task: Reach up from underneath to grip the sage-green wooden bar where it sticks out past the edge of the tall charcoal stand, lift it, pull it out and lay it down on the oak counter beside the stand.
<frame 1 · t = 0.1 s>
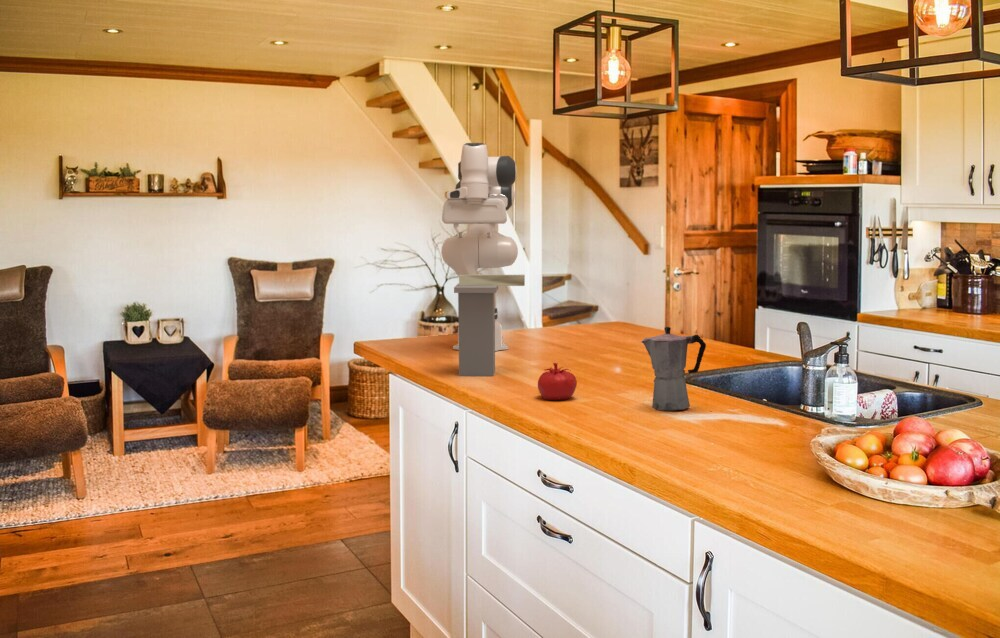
hand: (474, 238, 294), 39 cm above the countertop, tool pointing down, fingers open, 8 cm apart
pomegranate: (557, 398, 242), on the countertop
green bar: (492, 285, 274), point 26 cm above the countertop, touching tall stand
tall stand: (477, 372, 278), on the countertop
moka pot: (672, 408, 230), on the countertop
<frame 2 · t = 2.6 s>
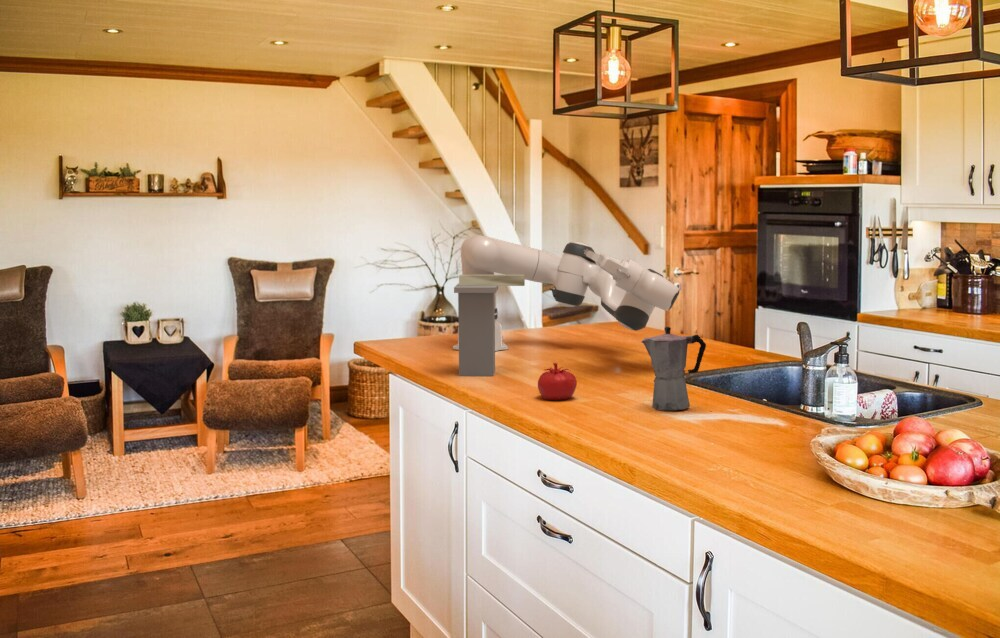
hand: (586, 252, 273), 36 cm above the countertop, tool pointing upward, fingers open, 8 cm apart
nothing on the countertop moved.
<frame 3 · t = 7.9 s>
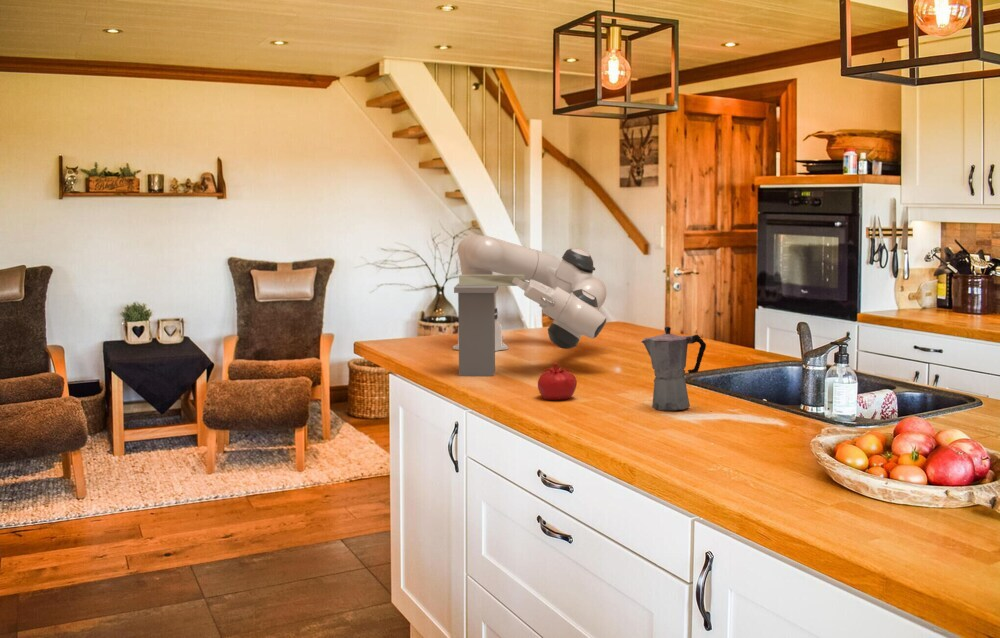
hand: (513, 278, 274), 28 cm above the countertop, tool pointing upward, fingers closed on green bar, 3 cm apart
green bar: (492, 285, 274), point 26 cm above the countertop, touching gripper, tall stand
everything else where it was.
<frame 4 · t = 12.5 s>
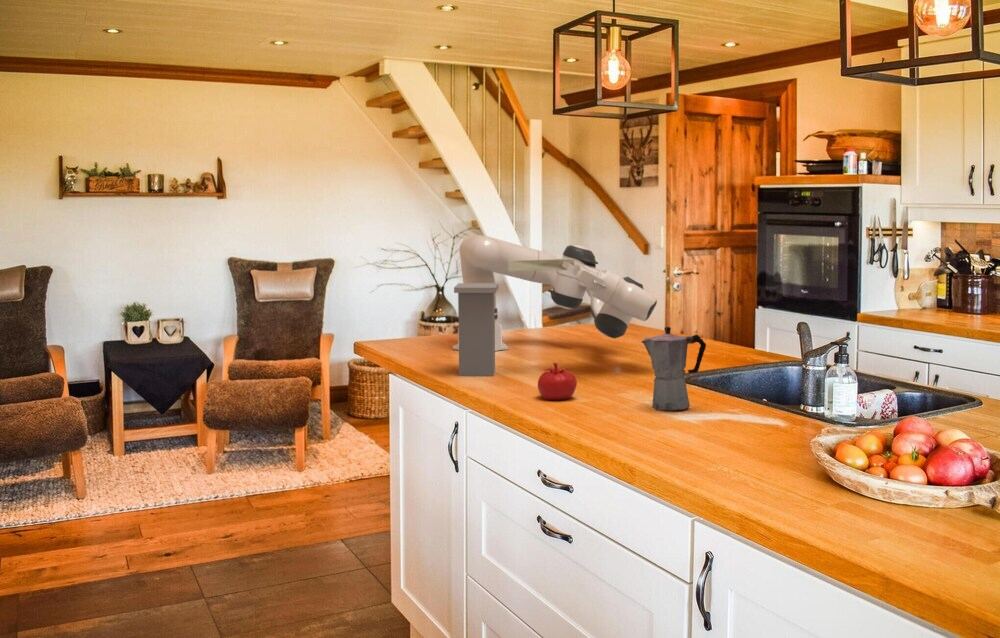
hand: (562, 262, 273), 33 cm above the countertop, tool pointing upward, fingers closed on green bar, 3 cm apart
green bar: (541, 270, 273), point 30 cm above the countertop, touching gripper
everything else where it was.
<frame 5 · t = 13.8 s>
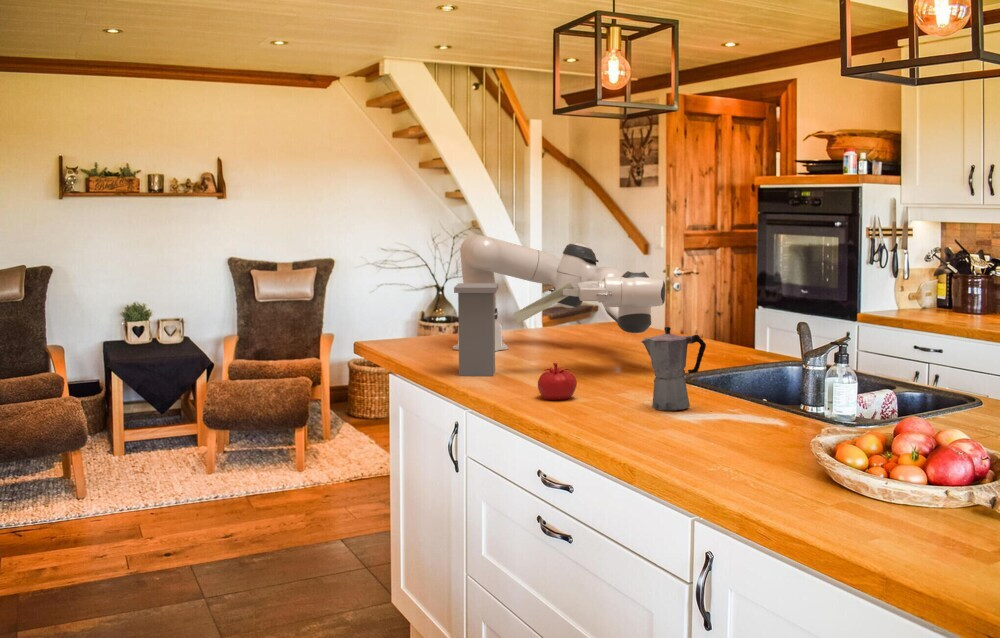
hand: (562, 291, 274), 24 cm above the countertop, tool horizontal, fingers closed on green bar, 3 cm apart
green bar: (546, 307, 274), point 20 cm above the countertop, tilted 29°, touching gripper
everything else where it was.
when the fingers open (11 cm above the countertop, at t = 17.4 s): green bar drops 7 cm, on the countertop.
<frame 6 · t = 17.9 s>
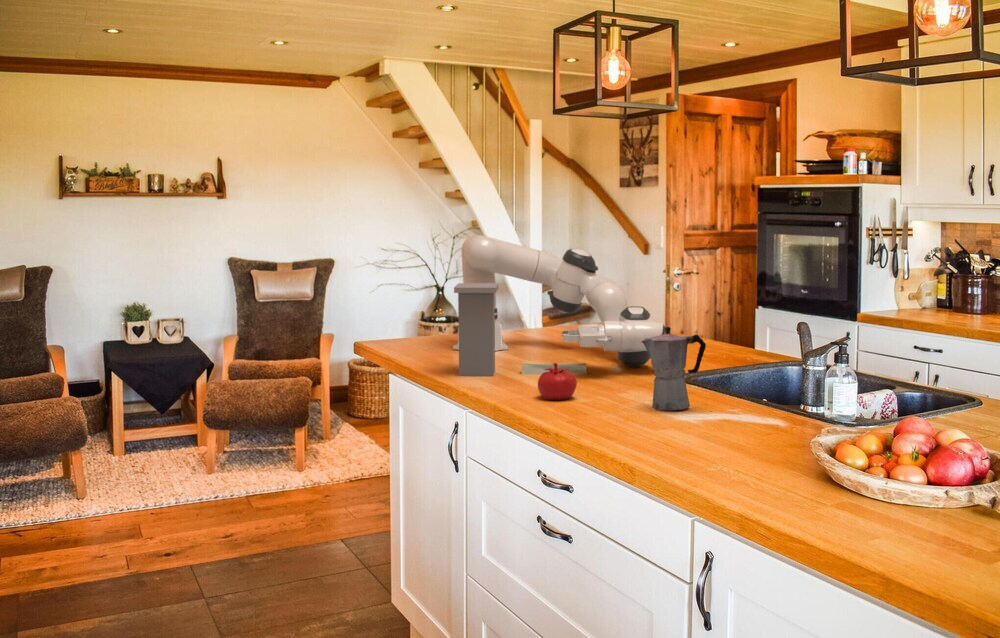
hand: (562, 336, 275), 11 cm above the countertop, tool horizontal, fingers open, 8 cm apart
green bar: (553, 374, 277), on the countertop
everything else where it was.
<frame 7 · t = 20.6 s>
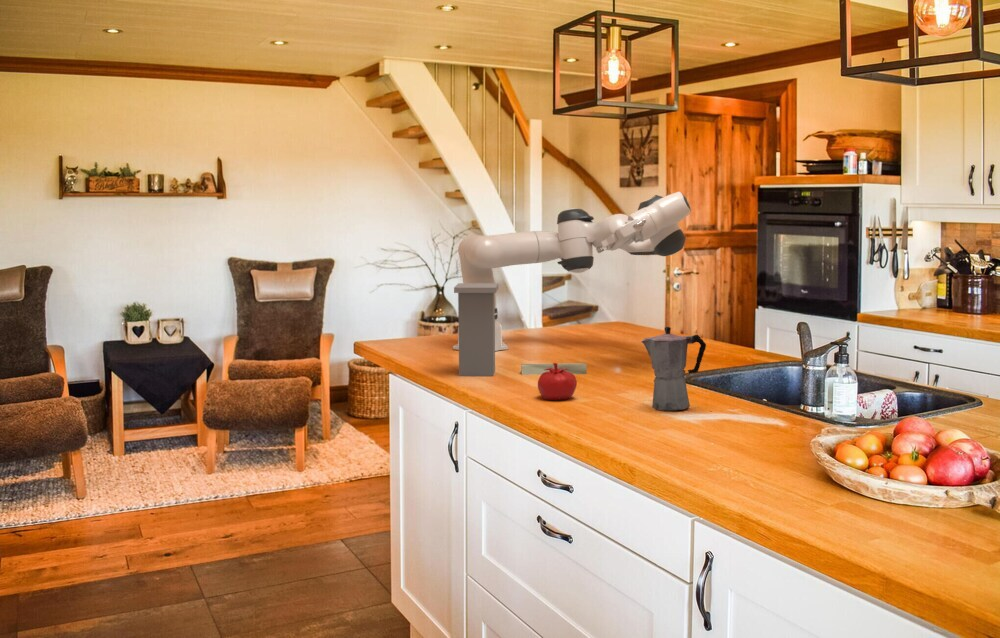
hand: (599, 248, 276), 37 cm above the countertop, tool tilted 65°, fingers open, 8 cm apart
nothing on the countertop moved.
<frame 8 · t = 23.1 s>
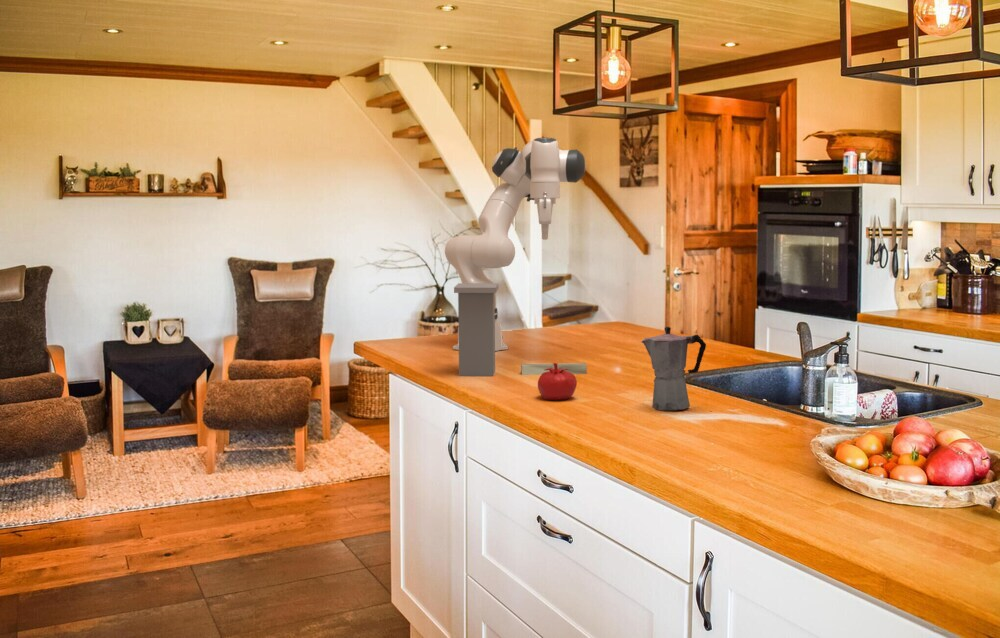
hand: (544, 238, 282), 39 cm above the countertop, tool pointing down, fingers open, 8 cm apart
nothing on the countertop moved.
at the end: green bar inside the target area (0.9 cm from its centre), on the countertop; the gripper is holding nothing; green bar touching countertop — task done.
